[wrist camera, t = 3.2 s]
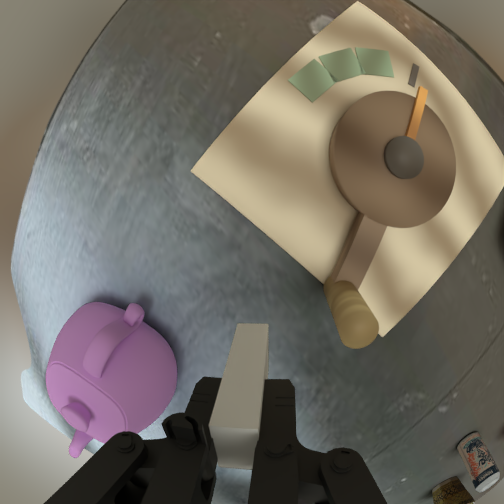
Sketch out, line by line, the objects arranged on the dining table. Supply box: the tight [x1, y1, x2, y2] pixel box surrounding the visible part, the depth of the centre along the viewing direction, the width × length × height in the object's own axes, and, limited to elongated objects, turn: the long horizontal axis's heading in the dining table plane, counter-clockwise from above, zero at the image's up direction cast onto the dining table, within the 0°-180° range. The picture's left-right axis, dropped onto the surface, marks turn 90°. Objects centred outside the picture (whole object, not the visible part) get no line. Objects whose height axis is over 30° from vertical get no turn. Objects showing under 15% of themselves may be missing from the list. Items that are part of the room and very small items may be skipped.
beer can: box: [457, 432, 500, 492], centre depth 23 cm, size 5×5×12 cm
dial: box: [323, 86, 456, 349], centre depth 16 cm, size 18×10×7 cm, turn 160°
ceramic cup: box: [432, 477, 475, 504], centre depth 28 cm, size 13×10×10 cm
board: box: [191, 1, 504, 337], centre depth 20 cm, size 22×22×1 cm
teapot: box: [46, 302, 177, 458], centre depth 22 cm, size 20×13×12 cm, turn 151°
